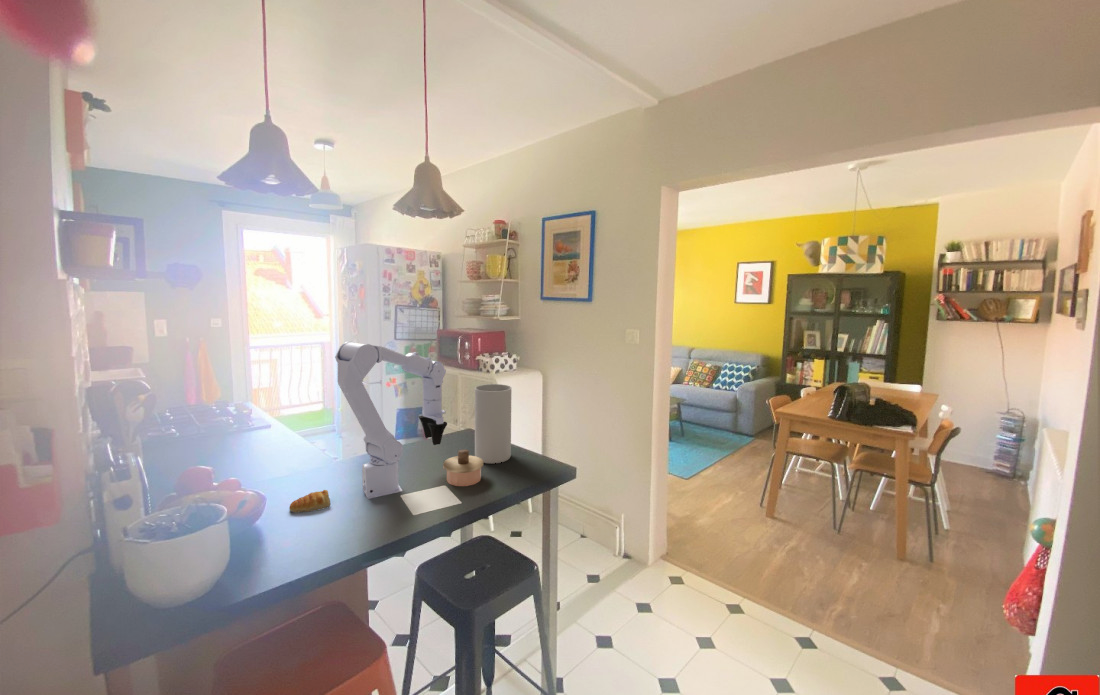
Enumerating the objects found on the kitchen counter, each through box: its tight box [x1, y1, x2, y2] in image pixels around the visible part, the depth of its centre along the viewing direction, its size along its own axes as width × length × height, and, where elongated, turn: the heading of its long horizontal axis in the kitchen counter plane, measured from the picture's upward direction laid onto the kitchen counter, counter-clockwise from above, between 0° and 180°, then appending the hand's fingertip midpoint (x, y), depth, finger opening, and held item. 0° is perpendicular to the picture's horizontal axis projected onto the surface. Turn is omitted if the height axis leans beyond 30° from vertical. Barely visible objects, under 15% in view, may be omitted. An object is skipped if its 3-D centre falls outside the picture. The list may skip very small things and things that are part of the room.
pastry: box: [289, 489, 331, 514], centre depth 115 cm, size 9×7×4 cm
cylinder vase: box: [474, 383, 512, 465], centre depth 151 cm, size 12×12×25 cm
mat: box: [399, 484, 463, 516], centre depth 119 cm, size 13×13×1 cm
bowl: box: [446, 468, 482, 487], centre depth 133 cm, size 10×10×5 cm
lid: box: [442, 449, 484, 473], centre depth 132 cm, size 12×12×4 cm
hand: (432, 440), depth 138 cm, fingers open, 7 cm apart
